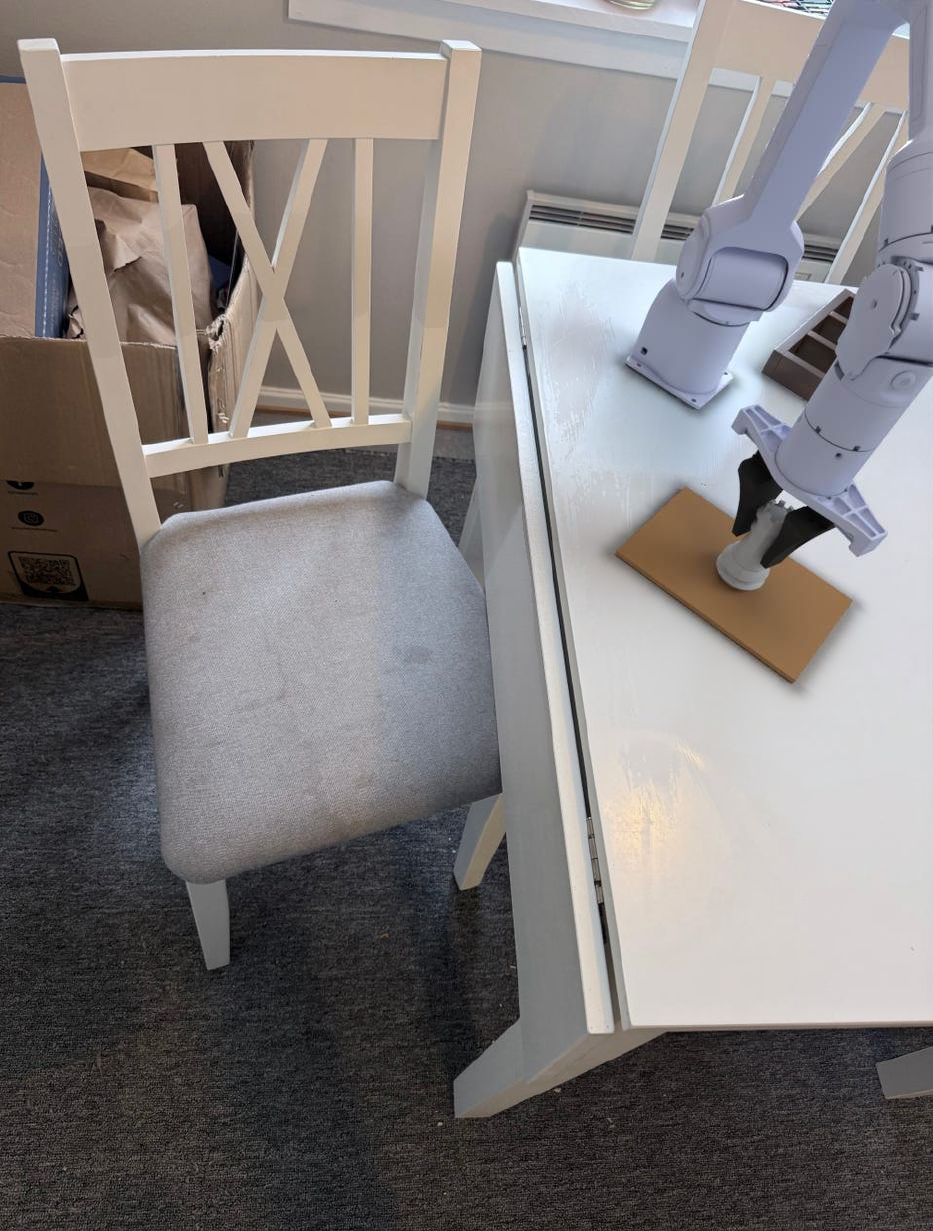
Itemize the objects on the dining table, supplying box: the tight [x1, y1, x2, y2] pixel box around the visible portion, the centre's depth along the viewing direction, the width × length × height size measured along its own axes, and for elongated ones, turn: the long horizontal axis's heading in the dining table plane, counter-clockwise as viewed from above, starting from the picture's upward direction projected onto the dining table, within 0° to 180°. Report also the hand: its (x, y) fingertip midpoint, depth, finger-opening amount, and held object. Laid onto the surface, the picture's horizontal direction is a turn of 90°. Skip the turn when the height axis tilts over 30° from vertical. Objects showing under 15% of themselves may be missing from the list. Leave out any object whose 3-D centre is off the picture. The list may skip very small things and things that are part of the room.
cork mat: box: [615, 485, 854, 684], centre depth 74 cm, size 18×12×1 cm, turn 50°
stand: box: [761, 287, 856, 402], centre depth 96 cm, size 7×20×3 cm, turn 140°
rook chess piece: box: [716, 499, 796, 591], centre depth 70 cm, size 4×4×8 cm
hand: (756, 547), depth 70 cm, fingers closed on rook chess piece, 3 cm apart
